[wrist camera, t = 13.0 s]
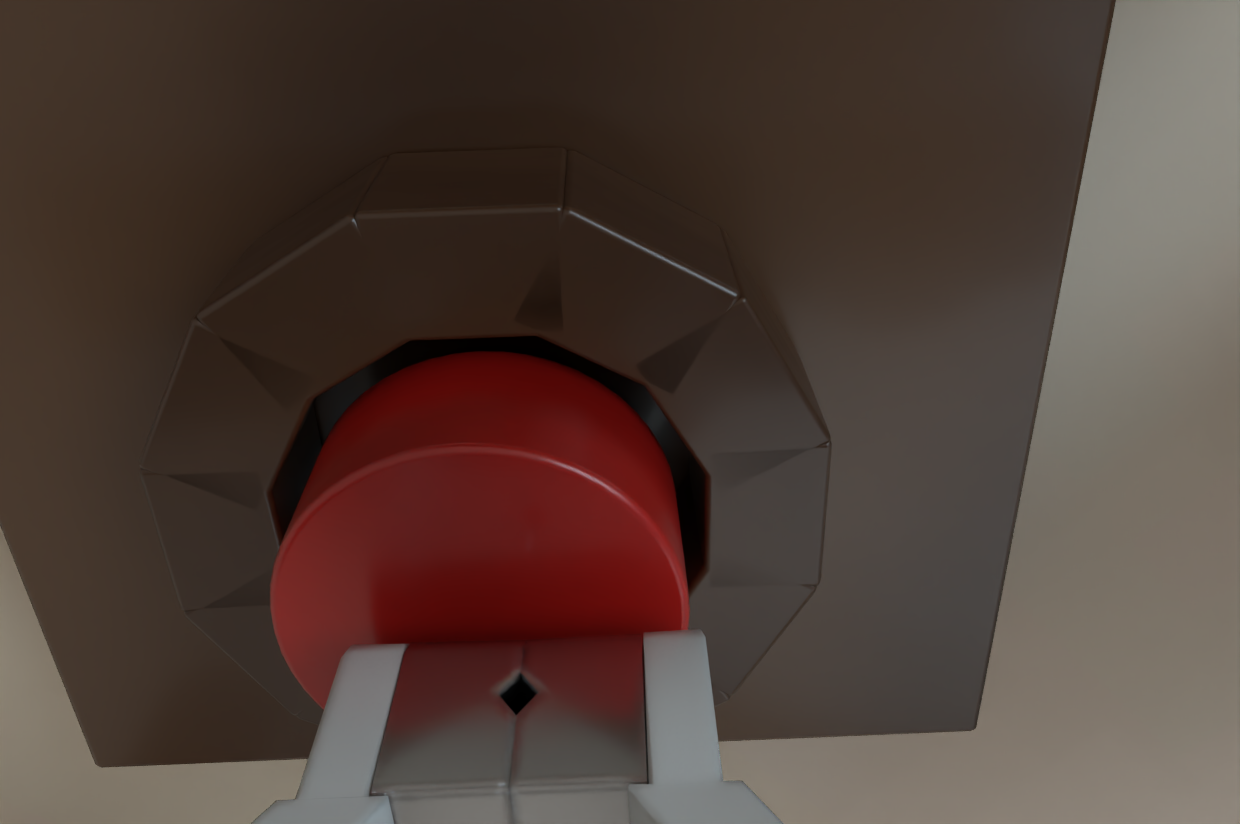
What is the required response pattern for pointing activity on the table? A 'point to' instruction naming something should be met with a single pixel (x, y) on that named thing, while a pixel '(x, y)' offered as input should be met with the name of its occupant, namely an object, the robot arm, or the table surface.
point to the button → (479, 517)
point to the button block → (534, 314)
